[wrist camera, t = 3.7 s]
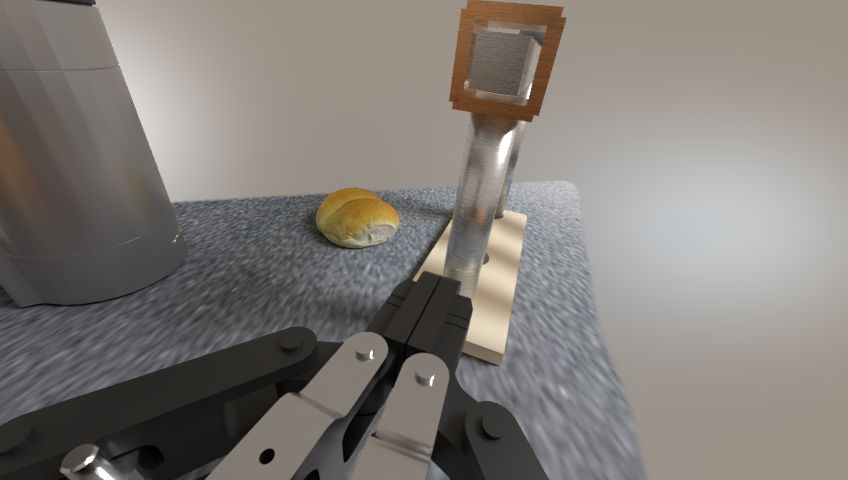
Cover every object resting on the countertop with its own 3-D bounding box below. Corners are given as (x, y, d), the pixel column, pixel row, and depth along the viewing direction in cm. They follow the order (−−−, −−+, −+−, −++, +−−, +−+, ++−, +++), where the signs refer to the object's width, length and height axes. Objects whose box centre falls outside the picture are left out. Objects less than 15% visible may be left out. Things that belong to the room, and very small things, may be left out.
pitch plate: (499, 365, 20) (504, 353, 20) (390, 325, 22) (390, 312, 21) (524, 223, 38) (527, 214, 37) (462, 208, 40) (464, 199, 39)
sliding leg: (476, 333, 20) (569, 7, 11) (420, 314, 21) (462, -1, 12) (484, 304, 23) (566, 17, 13) (433, 288, 24) (477, 10, 14)
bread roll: (370, 204, 39) (371, 174, 37) (409, 238, 33) (412, 205, 31) (304, 217, 34) (300, 184, 32) (335, 259, 28) (333, 222, 26)
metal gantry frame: (465, 346, 20) (569, -37, 10) (419, 330, 21) (471, -41, 11) (507, 211, 38) (558, 28, 28) (482, 205, 38) (523, 24, 28)
